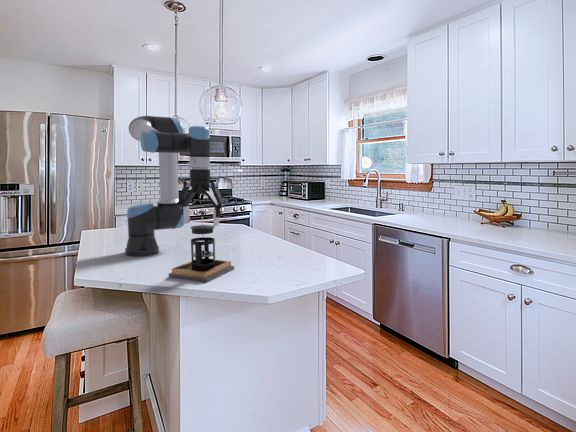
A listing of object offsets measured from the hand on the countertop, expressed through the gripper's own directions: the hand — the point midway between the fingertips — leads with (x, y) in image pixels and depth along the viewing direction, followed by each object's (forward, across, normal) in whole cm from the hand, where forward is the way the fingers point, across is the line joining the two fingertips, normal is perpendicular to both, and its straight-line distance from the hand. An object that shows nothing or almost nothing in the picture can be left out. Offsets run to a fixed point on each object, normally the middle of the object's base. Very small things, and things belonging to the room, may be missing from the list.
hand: (201, 224), depth 137 cm
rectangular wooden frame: (+19, 0, 0) cm, 19 cm away
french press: (+18, +1, 0) cm, 18 cm away
